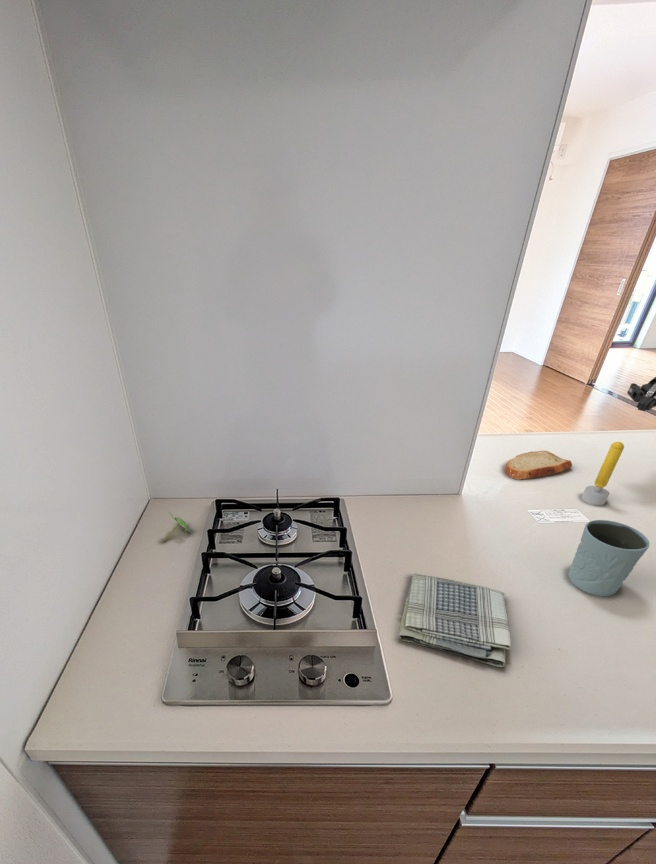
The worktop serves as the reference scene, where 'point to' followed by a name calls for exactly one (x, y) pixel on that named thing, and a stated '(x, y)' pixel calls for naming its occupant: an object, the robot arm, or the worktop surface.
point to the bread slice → (535, 465)
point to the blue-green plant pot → (606, 556)
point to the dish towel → (456, 619)
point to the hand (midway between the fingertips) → (642, 407)
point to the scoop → (603, 477)
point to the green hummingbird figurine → (179, 521)
